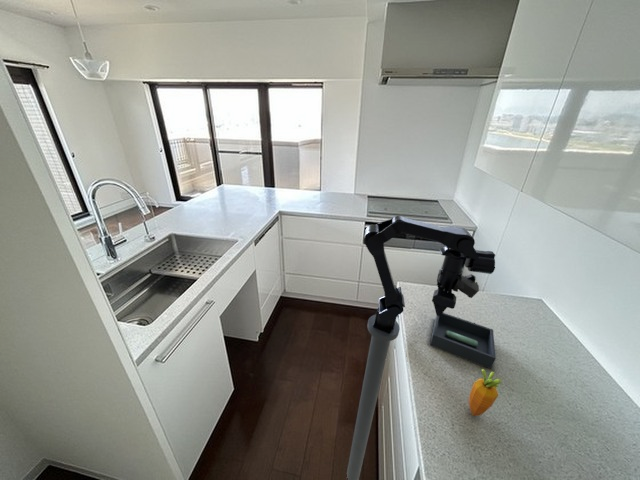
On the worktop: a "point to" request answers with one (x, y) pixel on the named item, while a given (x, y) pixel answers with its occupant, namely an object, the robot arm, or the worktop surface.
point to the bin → (476, 354)
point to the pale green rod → (461, 338)
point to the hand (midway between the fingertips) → (439, 307)
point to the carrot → (483, 394)
